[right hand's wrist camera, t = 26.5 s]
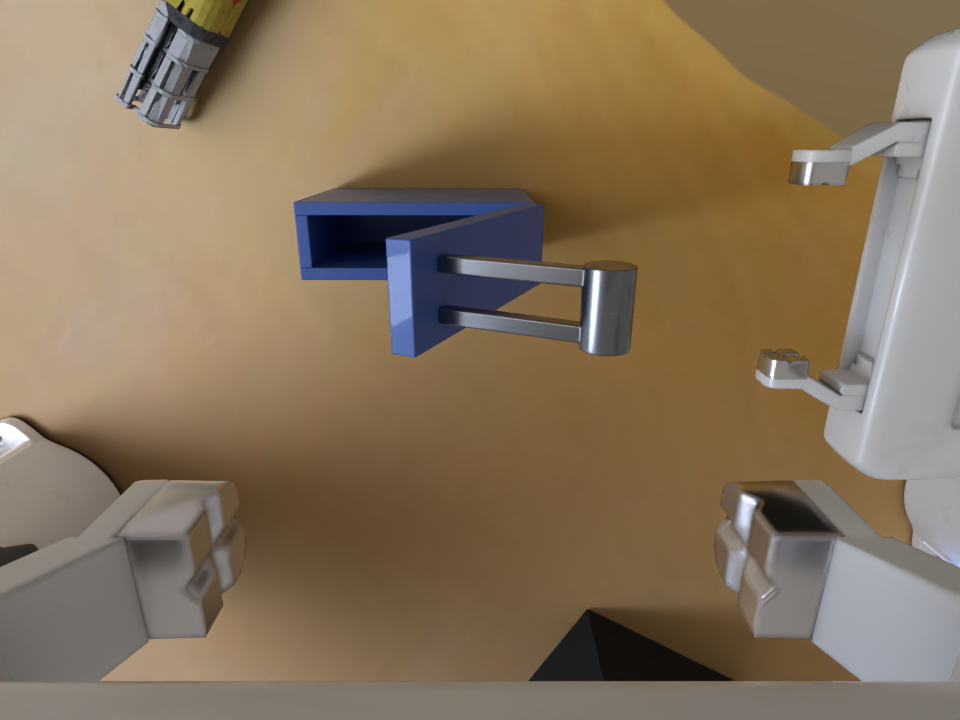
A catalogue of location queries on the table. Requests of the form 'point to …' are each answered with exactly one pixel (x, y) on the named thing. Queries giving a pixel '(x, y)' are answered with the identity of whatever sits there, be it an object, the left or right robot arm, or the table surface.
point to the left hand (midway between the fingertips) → (778, 273)
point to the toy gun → (177, 57)
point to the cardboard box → (616, 657)
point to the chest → (379, 224)
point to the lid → (499, 285)
